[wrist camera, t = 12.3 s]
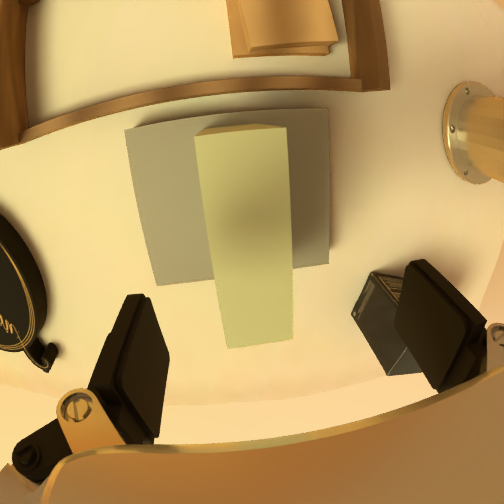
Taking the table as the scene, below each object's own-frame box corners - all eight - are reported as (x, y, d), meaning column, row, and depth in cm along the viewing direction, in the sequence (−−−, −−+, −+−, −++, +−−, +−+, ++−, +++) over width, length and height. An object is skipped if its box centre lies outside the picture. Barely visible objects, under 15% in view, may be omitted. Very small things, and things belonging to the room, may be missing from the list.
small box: (347, 316, 34) (384, 379, 25) (369, 270, 31) (418, 328, 22) (408, 321, 36) (446, 372, 27) (429, 281, 34) (476, 329, 24)
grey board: (317, 108, 23) (327, 108, 21) (320, 252, 29) (328, 263, 27) (132, 128, 22) (124, 129, 20) (160, 272, 28) (156, 286, 26)
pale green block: (255, 123, 21) (286, 127, 12) (266, 262, 26) (293, 339, 17) (203, 128, 21) (193, 136, 12) (221, 268, 26) (227, 348, 17)
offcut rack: (340, -48, 15) (361, -69, 11) (361, 92, 23) (390, 89, 18) (21, 4, 13) (-4, -7, 9) (23, 143, 20) (-7, 151, 16)
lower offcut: (307, -29, 17) (313, -37, 16) (321, 57, 22) (329, 53, 20) (222, -29, 17) (222, -39, 15) (232, 60, 21) (234, 55, 19)
